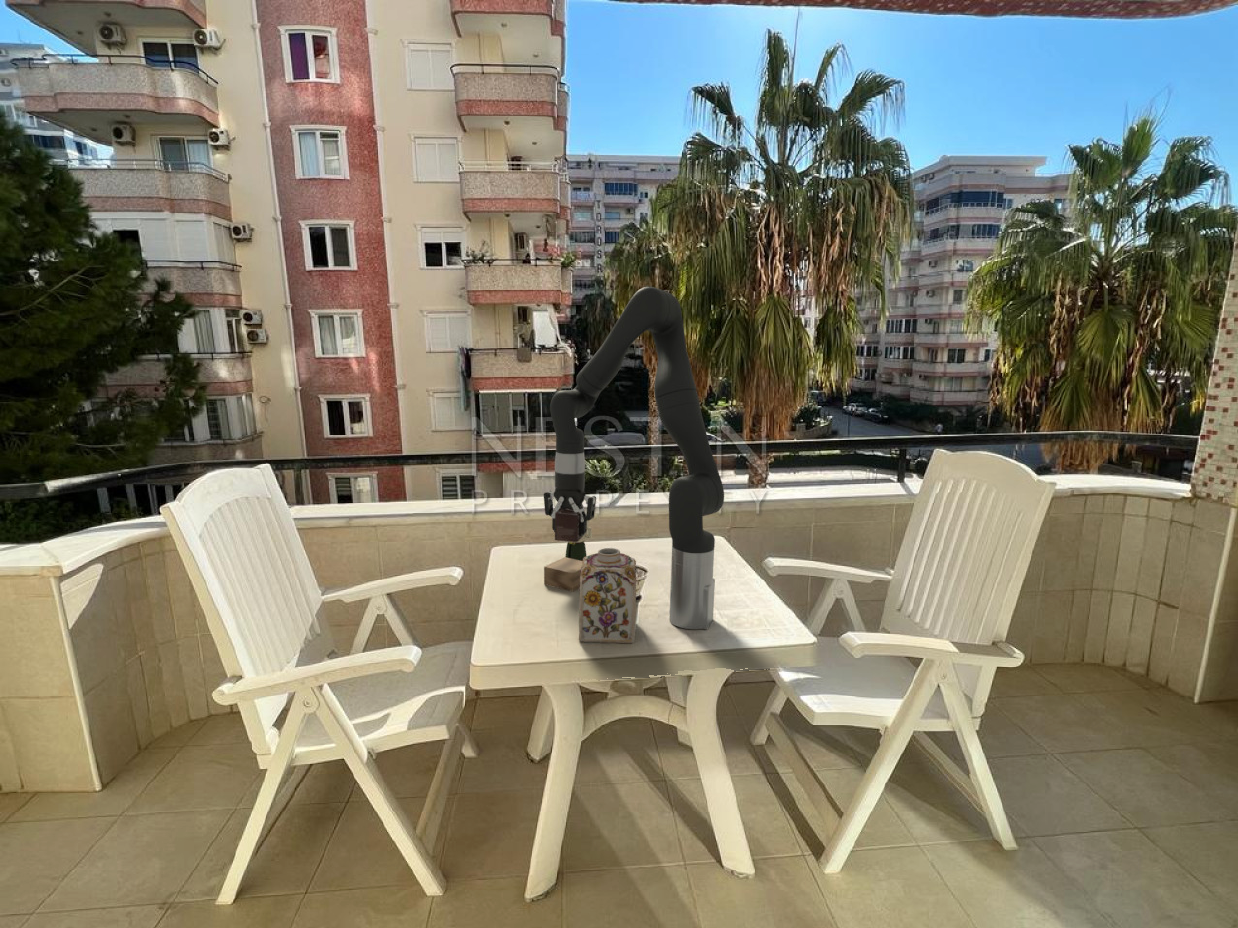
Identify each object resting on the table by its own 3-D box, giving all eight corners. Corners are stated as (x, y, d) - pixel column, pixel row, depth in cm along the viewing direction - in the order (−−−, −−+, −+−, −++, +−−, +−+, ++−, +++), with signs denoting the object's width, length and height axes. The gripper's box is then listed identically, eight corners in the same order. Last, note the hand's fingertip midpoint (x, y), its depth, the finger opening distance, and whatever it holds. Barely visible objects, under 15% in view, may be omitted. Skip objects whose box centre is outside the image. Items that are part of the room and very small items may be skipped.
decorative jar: (635, 644, 121) (637, 560, 118) (578, 643, 121) (578, 559, 118) (634, 619, 133) (636, 542, 130) (582, 618, 133) (583, 541, 130)
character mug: (553, 561, 170) (553, 517, 168) (569, 555, 176) (569, 512, 174) (583, 569, 164) (583, 524, 162) (598, 562, 170) (599, 518, 168)
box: (577, 543, 149) (577, 514, 148) (554, 540, 150) (554, 512, 149) (583, 536, 155) (584, 508, 153) (561, 534, 156) (561, 506, 155)
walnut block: (592, 581, 156) (592, 563, 155) (573, 592, 148) (573, 573, 148) (564, 574, 161) (564, 557, 160) (544, 585, 153) (544, 566, 152)
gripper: (602, 469, 150) (600, 533, 153) (551, 464, 155) (551, 526, 158) (589, 475, 143) (588, 541, 146) (537, 469, 148) (537, 533, 151)
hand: (569, 533), depth 152 cm, fingers closed on box, 6 cm apart
